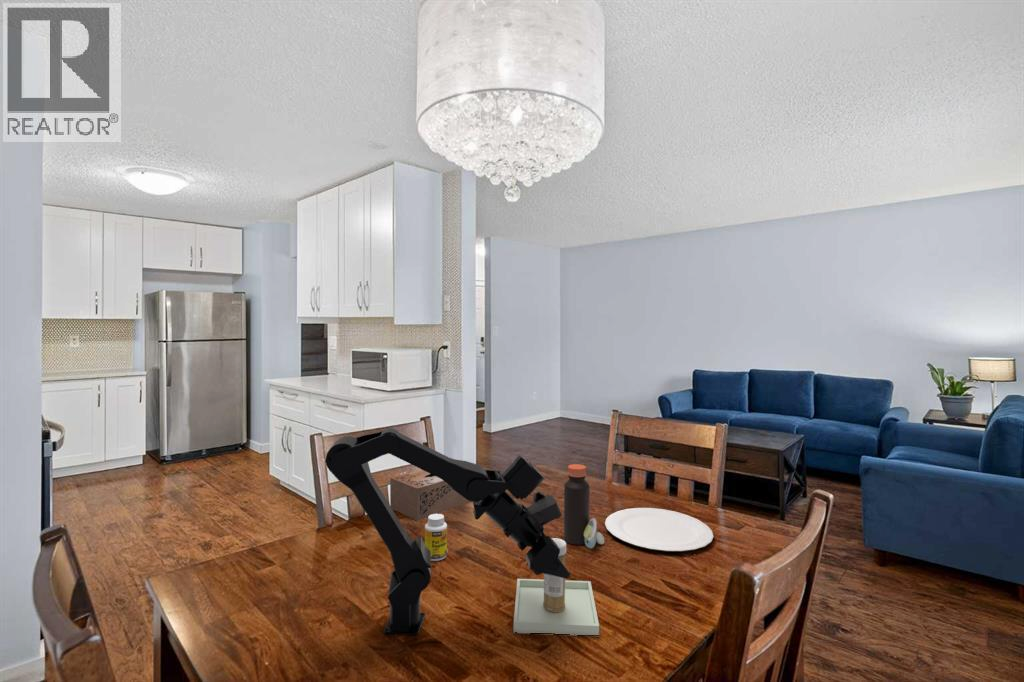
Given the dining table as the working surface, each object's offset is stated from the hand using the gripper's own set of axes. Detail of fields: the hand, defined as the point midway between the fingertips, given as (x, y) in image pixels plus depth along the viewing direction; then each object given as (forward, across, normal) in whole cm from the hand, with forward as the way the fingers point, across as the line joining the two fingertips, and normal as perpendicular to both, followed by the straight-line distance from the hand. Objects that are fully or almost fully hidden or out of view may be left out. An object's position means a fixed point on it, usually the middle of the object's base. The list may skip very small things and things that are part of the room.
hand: (561, 565), depth 100 cm
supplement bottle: (-11, +27, +24) cm, 38 cm away
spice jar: (+5, 0, +7) cm, 9 cm away
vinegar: (+16, +30, -3) cm, 35 cm away
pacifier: (+14, +26, -7) cm, 30 cm away
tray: (+6, 0, +8) cm, 9 cm away
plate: (+33, +32, -20) cm, 50 cm away
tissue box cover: (-9, +64, +23) cm, 69 cm away
